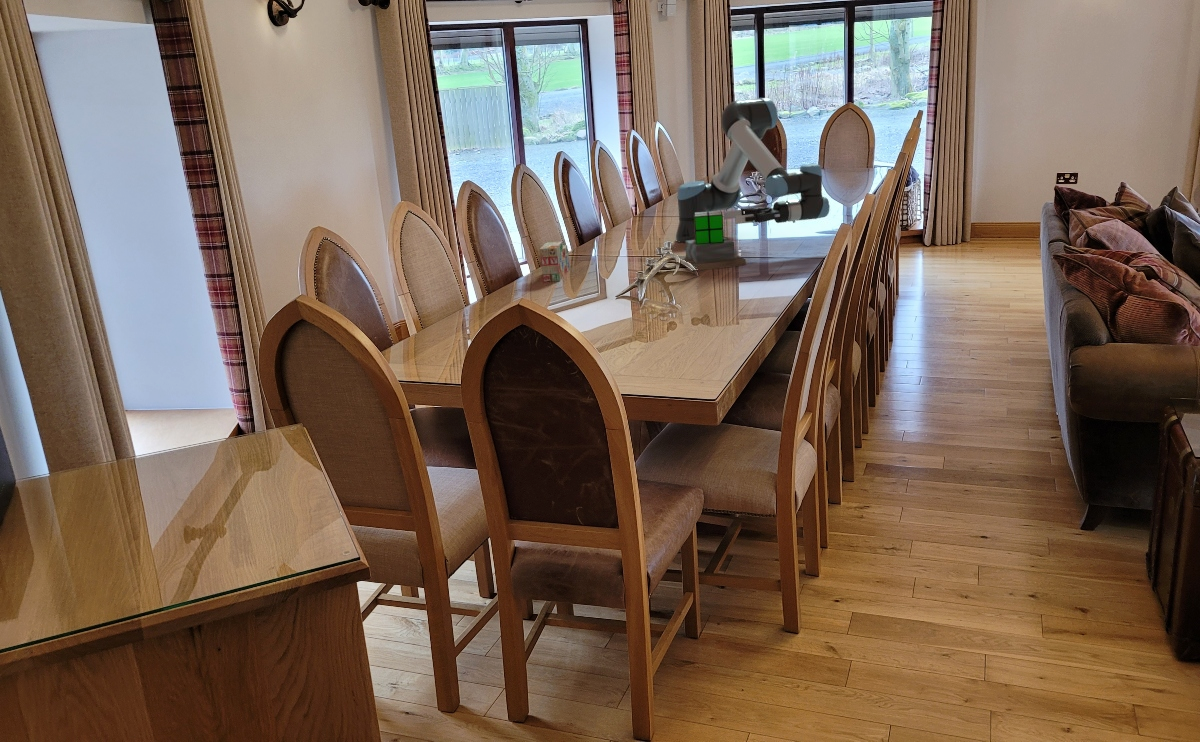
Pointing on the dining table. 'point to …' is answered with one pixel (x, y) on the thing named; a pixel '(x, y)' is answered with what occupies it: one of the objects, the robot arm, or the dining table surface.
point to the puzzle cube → (708, 227)
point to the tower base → (716, 263)
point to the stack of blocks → (554, 261)
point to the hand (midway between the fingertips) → (729, 217)
